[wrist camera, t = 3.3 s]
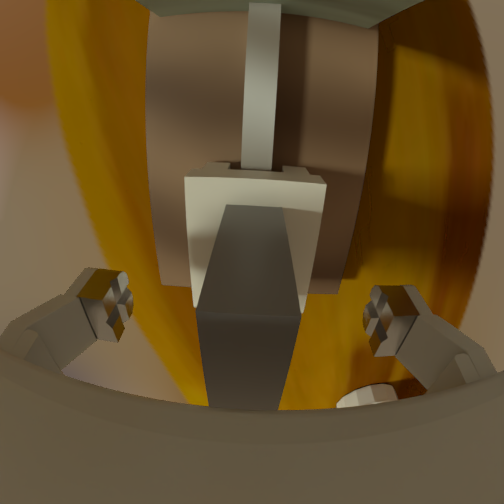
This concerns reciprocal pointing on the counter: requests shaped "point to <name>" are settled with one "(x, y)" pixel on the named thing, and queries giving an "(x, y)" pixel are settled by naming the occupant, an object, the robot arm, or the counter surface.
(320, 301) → the counter surface
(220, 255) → the carriage
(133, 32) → the counter surface
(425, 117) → the counter surface
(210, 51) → the rail bed
